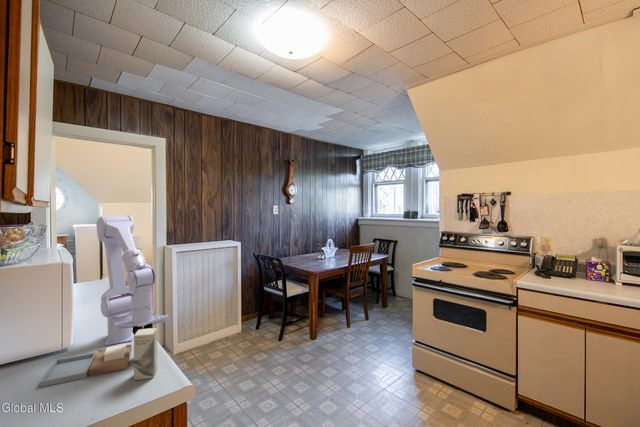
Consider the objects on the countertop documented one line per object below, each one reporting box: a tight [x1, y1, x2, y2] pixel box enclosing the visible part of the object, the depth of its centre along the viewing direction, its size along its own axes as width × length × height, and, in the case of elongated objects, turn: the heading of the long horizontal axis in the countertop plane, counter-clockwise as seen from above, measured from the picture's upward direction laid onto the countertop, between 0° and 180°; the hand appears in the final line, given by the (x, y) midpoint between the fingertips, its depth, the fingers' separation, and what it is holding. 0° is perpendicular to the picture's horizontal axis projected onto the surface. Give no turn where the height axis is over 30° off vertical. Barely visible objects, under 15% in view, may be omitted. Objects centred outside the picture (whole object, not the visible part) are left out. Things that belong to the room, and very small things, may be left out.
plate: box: [88, 344, 132, 378], centre depth 92 cm, size 12×9×2 cm
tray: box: [39, 352, 97, 388], centre depth 87 cm, size 12×10×2 cm
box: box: [133, 327, 158, 381], centre depth 85 cm, size 5×4×13 cm
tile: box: [104, 343, 127, 361], centre depth 92 cm, size 5×5×2 cm
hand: (143, 347), depth 95 cm, fingers closed
